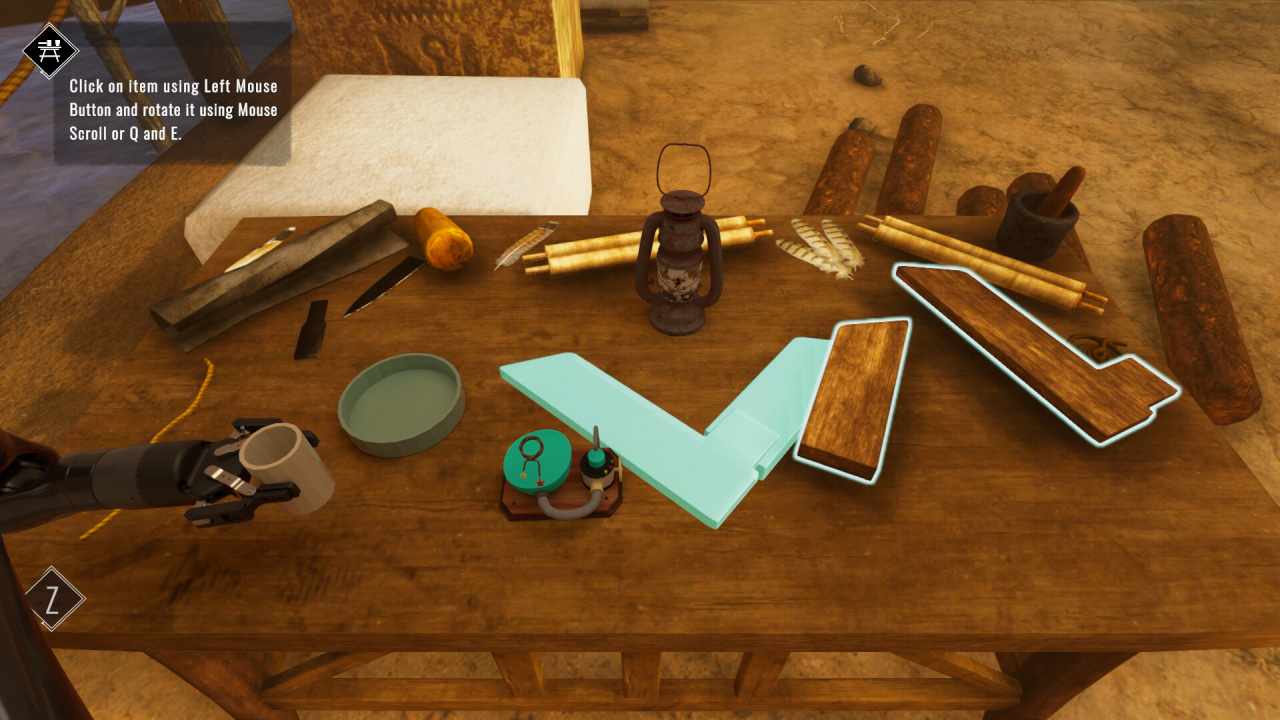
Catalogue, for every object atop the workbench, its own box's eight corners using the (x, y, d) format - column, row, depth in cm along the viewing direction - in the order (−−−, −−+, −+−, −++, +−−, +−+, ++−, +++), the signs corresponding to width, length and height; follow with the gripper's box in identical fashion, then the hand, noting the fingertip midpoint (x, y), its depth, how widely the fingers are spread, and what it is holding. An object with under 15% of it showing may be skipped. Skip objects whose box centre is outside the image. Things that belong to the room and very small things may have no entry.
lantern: (640, 295, 116) (637, 124, 91) (720, 302, 115) (740, 130, 89) (631, 331, 109) (626, 156, 84) (717, 339, 107) (738, 163, 82)
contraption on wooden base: (624, 532, 80) (620, 472, 69) (495, 537, 80) (470, 477, 69) (622, 449, 90) (619, 385, 79) (507, 453, 89) (488, 390, 79)
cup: (326, 513, 69) (290, 466, 62) (272, 517, 69) (229, 471, 62) (341, 469, 74) (308, 420, 67) (290, 473, 74) (252, 424, 66)
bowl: (458, 452, 90) (451, 437, 87) (332, 462, 89) (322, 447, 86) (472, 365, 103) (467, 349, 100) (363, 372, 102) (355, 356, 99)
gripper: (102, 514, 59) (270, 500, 60) (170, 406, 69) (313, 396, 70) (147, 548, 64) (301, 535, 65) (204, 444, 74) (336, 434, 75)
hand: (306, 463), depth 67 cm, fingers closed on cup, 6 cm apart
